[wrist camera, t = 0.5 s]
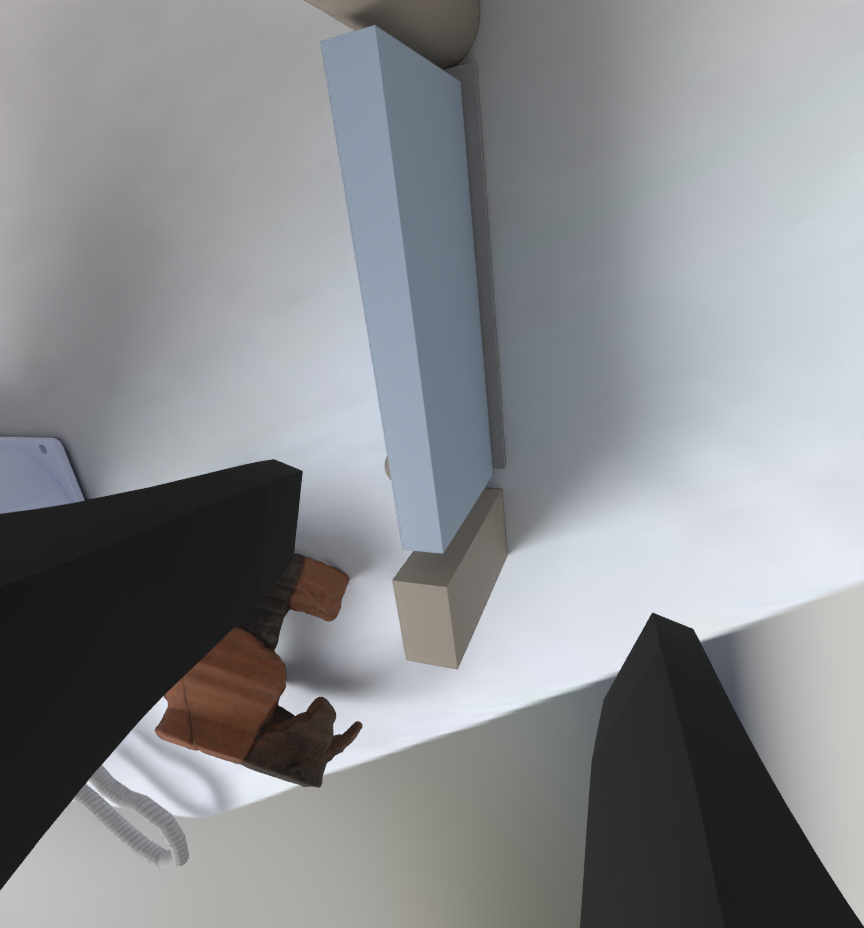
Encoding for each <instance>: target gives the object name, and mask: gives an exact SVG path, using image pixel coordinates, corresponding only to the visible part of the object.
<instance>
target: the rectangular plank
mask: <svg viewBox="0 0 864 928" xmlns="http://www.w3.org/2000/svg"><path fill="white" fill-rule="evenodd" d="M321 48H322V54H323V60H324V66H325V72H326V79H327V85H328V91H329V97H330V103H331V110H332V116H333V122H334V128H335V134H336V140H337V147H338V153H339V159H340V165H341V171H342V178H343V184H344V190H345V196H346V202H347V208H348V215H349V221H350V227H351V233H352V239H353V246H354V252H355V258H356V264H357V270H358V277H359V283H360V289H361V295H362V301H363V307H364V314H365V320H366V326H367V332H368V338H369V345H370V351H371V357H372V363H373V369H374V375H375V382H376V388H377V394H378V400H379V406H380V413H381V419H382V425H383V431H384V437H385V444H386V450H387V457H386V460H385V471H386V474H387V476H388V477H389V478H390V480H391V481H392V487H393V493H394V499H395V505H396V512H397V518H398V524H399V530H400V536H401V542H402V549H403V550H411V551H421V552H431V553H441V554H443V553H444V552H445V550H446V549H447V547H448V545H449V544H450V542H451V541H452V539H453V537H454V536H455V534H456V533H457V531H458V529H459V528H460V526H461V525H462V523H463V522H464V520H465V518H466V517H467V515H468V514H469V512H470V510H471V509H472V507H473V506H474V504H475V502H476V501H477V499H478V498H479V496H480V494H481V493H482V491H483V490H484V488H485V487H486V485H487V483H488V482H489V480H490V479H491V477H492V475H493V467H492V455H491V443H490V431H489V419H488V407H487V395H486V383H485V371H484V359H483V347H482V335H481V323H480V311H479V299H478V287H477V275H476V263H475V251H474V239H473V227H472V215H471V203H470V191H469V179H468V166H467V155H466V142H465V130H464V118H463V106H462V94H461V82H460V81H458V80H457V79H455V78H454V77H452V76H451V75H449V74H448V73H446V72H445V71H443V70H442V69H440V68H439V67H437V66H436V65H434V64H433V63H431V62H430V61H428V60H427V59H425V58H424V57H422V56H421V55H419V54H418V53H416V52H415V51H413V50H412V49H410V48H409V47H407V46H406V45H404V44H403V43H401V42H400V41H398V40H397V39H395V38H394V37H392V36H391V35H389V34H388V33H386V32H385V31H383V30H382V29H380V28H379V27H377V26H376V25H373V26H370V27H367V28H363V29H360V30H357V31H353V32H350V33H347V34H343V35H340V36H337V37H334V38H330V39H327V40H324V41H321Z"/></svg>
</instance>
